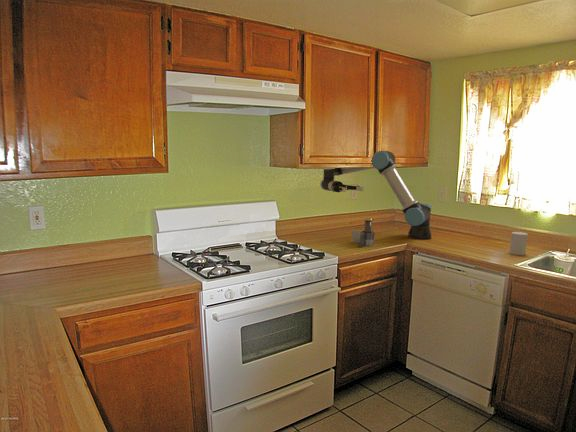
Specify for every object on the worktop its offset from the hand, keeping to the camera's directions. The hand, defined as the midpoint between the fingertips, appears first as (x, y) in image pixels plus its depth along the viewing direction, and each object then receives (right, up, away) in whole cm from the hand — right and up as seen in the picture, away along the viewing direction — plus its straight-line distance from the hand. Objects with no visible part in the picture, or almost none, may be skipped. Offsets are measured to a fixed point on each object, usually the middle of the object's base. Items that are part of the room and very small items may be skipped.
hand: (354, 189), depth 270 cm
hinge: (+2, -35, -13) cm, 37 cm away
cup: (+91, -39, -25) cm, 102 cm away
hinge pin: (+6, -35, -12) cm, 37 cm away
